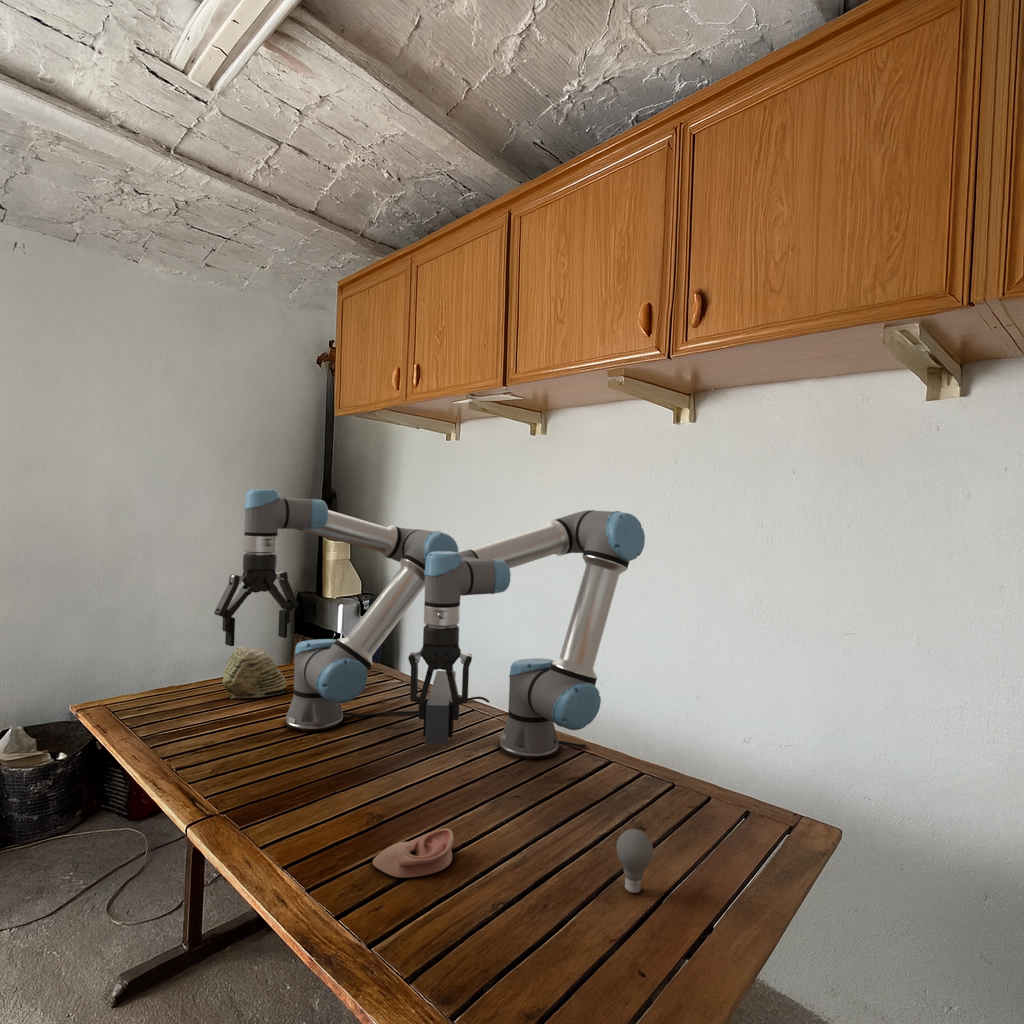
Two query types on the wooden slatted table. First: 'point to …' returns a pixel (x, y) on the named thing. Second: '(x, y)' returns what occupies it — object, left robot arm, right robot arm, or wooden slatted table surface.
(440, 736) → the bar
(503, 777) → the wooden slatted table surface
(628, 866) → the light bulb
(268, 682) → the fossil
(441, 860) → the anatomical model
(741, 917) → the wooden slatted table surface
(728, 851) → the wooden slatted table surface
